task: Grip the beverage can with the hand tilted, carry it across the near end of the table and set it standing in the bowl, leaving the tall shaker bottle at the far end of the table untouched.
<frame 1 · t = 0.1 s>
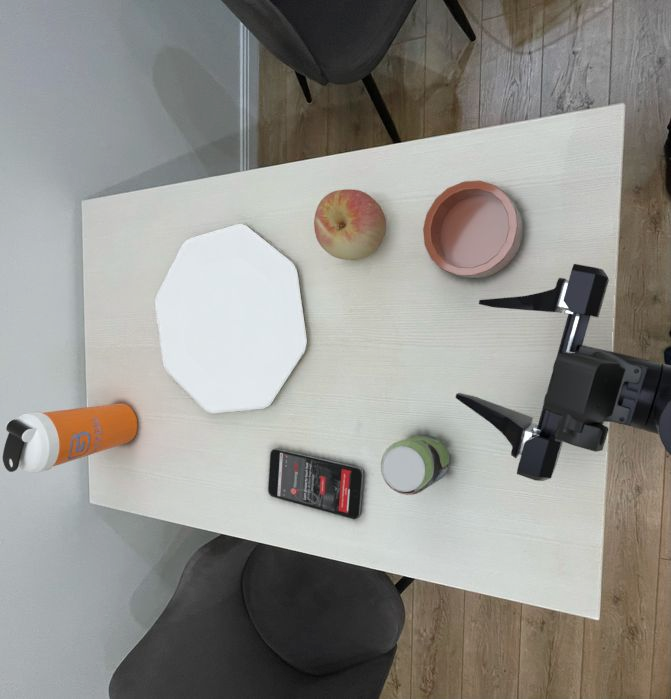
hand: (468, 349, 51), 15 cm above the table, tool horizontal, fingers open, 9 cm apart
beverage can: (431, 452, 70), on the table
smartphone: (315, 481, 78), on the table
shaker bottle: (124, 422, 95), on the table
bowl: (477, 233, 65), on the table
plate: (231, 321, 83), on the table
apple: (364, 230, 72), on the table
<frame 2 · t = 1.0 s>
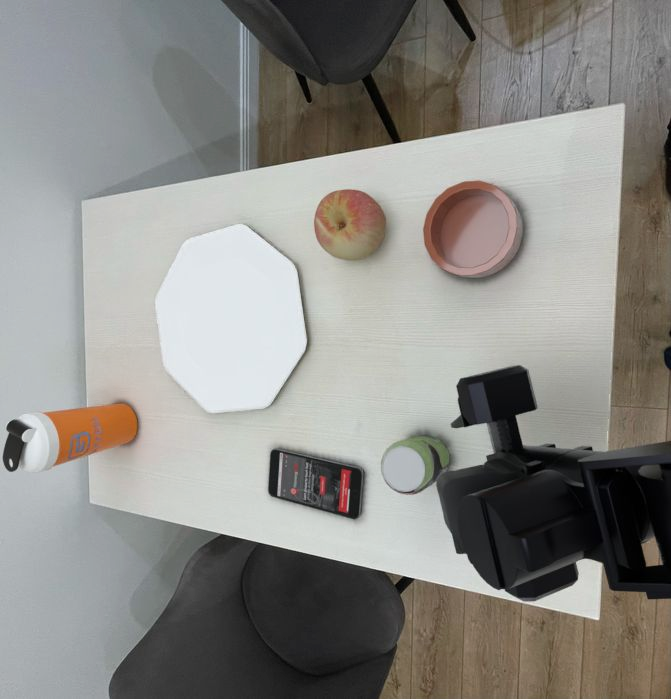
hand: (465, 469, 53), 14 cm above the table, tool tilted 45°, fingers open, 9 cm apart
nothing on the table moved.
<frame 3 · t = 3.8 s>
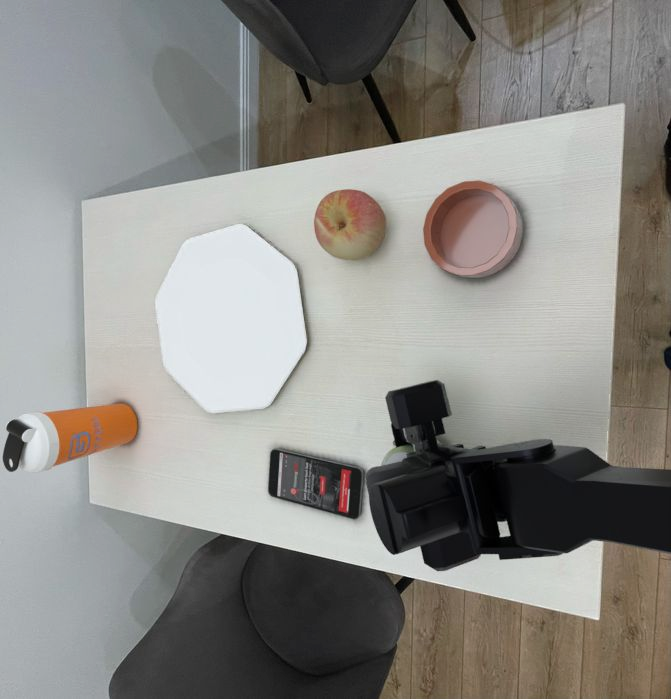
hand: (402, 466, 64), 7 cm above the table, tool tilted 45°, fingers closed on beverage can, 5 cm apart
beverage can: (431, 452, 69), on the table, touching gripper
everything else where it was.
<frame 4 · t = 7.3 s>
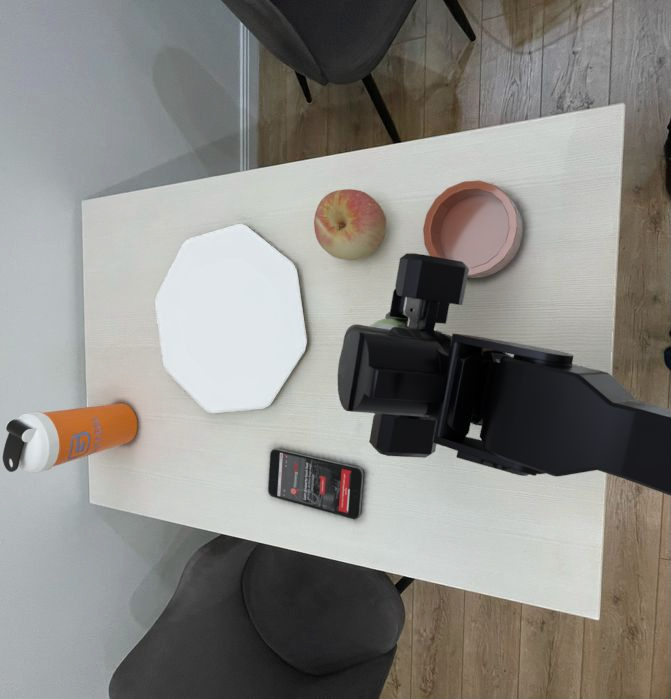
hand: (385, 342, 58), 12 cm above the table, tool tilted 45°, fingers closed on beverage can, 5 cm apart
beverage can: (418, 344, 64), point 5 cm above the table, touching gripper
everything else where it was.
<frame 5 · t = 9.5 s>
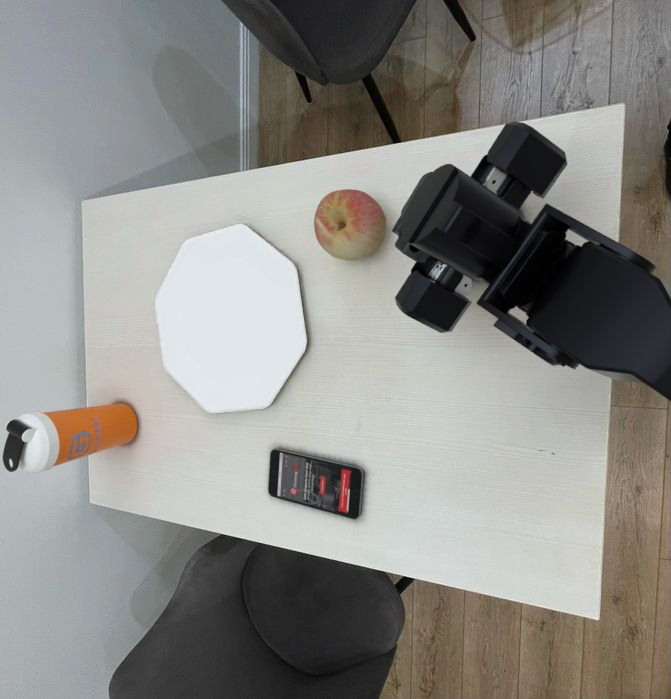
hand: (443, 213, 56), 11 cm above the table, tool tilted 45°, fingers closed on beverage can, 5 cm apart
beverage can: (470, 231, 61), point 4 cm above the table, touching gripper
everything else where it was.
when the fingers open (7 cm above the table, at t = 11.1 s): beverage can stays where it is, resting on bowl.
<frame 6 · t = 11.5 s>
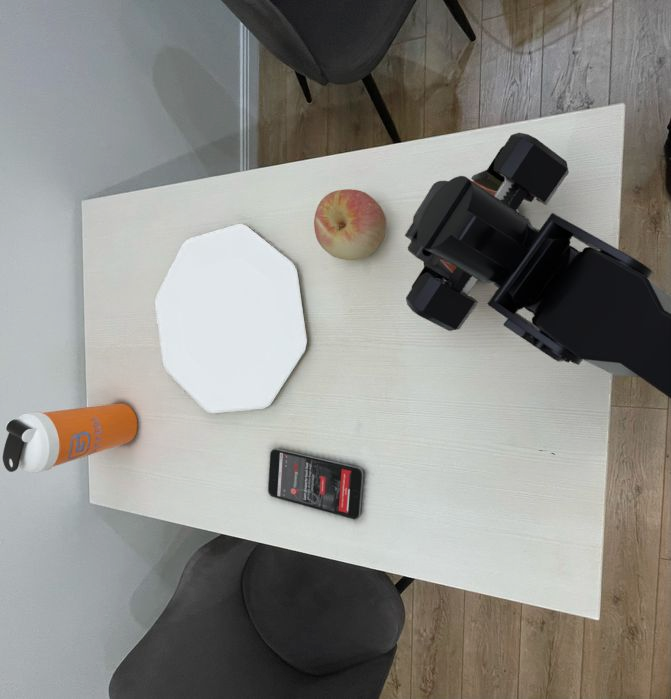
hand: (450, 217, 59), 8 cm above the table, tool tilted 45°, fingers open, 9 cm apart
beverage can: (477, 235, 65), resting on bowl
everything else where it was.
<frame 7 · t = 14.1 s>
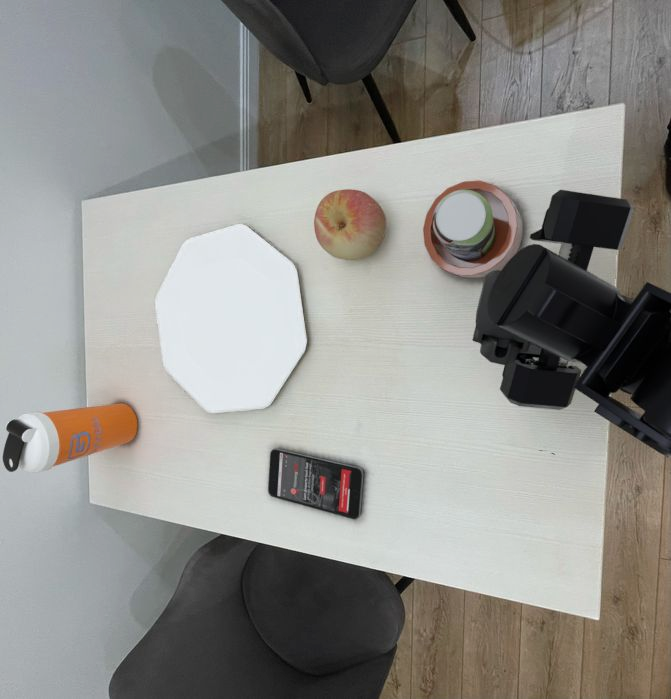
hand: (522, 282, 54), 9 cm above the table, tool tilted 35°, fingers open, 9 cm apart
nothing on the table moved.
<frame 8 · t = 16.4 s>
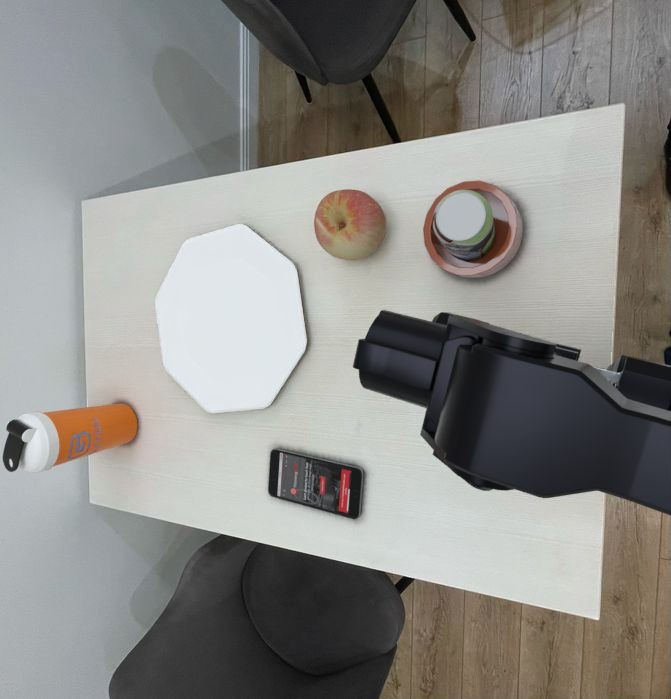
hand: (550, 366, 50), 13 cm above the table, tool pointing down, fingers open, 9 cm apart
nothing on the table moved.
at the end: beverage can 0.3 cm off-centre in the bowl, point 0.4 cm above the bowl's base; beverage can tilted 0°; shaker bottle moved 0.2 cm from its start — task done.
